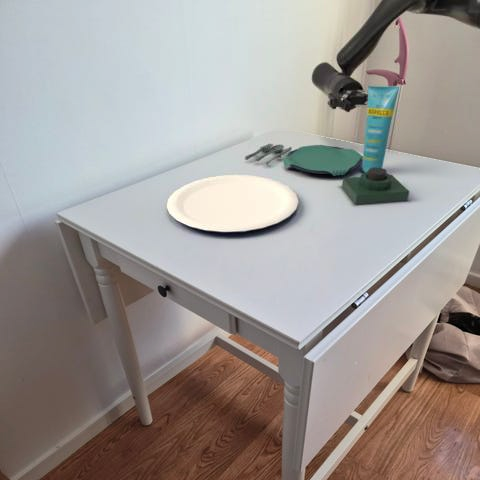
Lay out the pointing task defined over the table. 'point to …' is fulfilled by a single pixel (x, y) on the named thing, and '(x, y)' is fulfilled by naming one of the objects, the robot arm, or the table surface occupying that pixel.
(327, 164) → the cutlery set
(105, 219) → the table surface
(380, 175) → the button
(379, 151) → the tube
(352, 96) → the robot arm
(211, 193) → the plate
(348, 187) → the pump base
